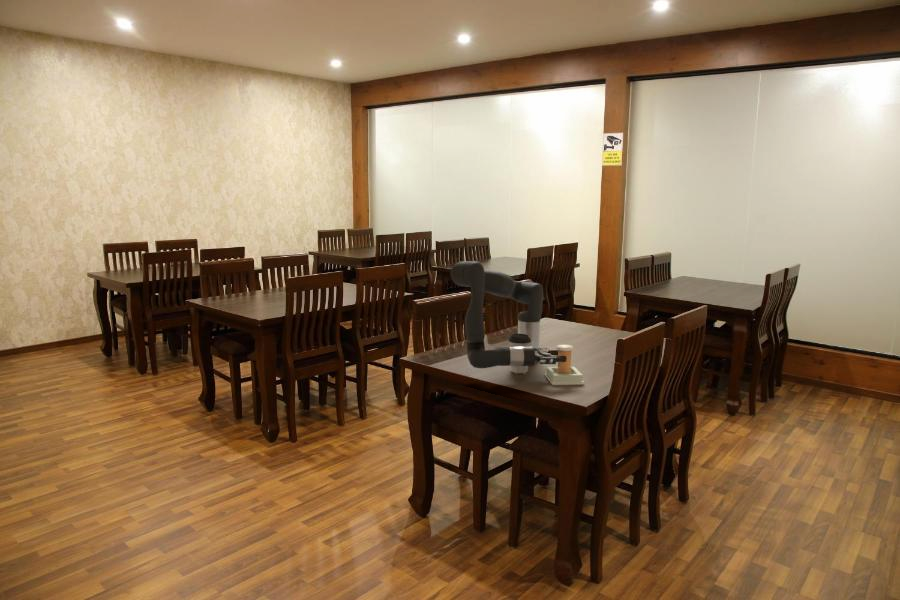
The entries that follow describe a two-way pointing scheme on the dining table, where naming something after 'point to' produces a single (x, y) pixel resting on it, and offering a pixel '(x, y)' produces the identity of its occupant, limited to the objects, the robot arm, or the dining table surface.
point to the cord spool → (566, 366)
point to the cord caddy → (564, 377)
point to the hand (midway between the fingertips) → (563, 355)
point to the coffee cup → (519, 341)
